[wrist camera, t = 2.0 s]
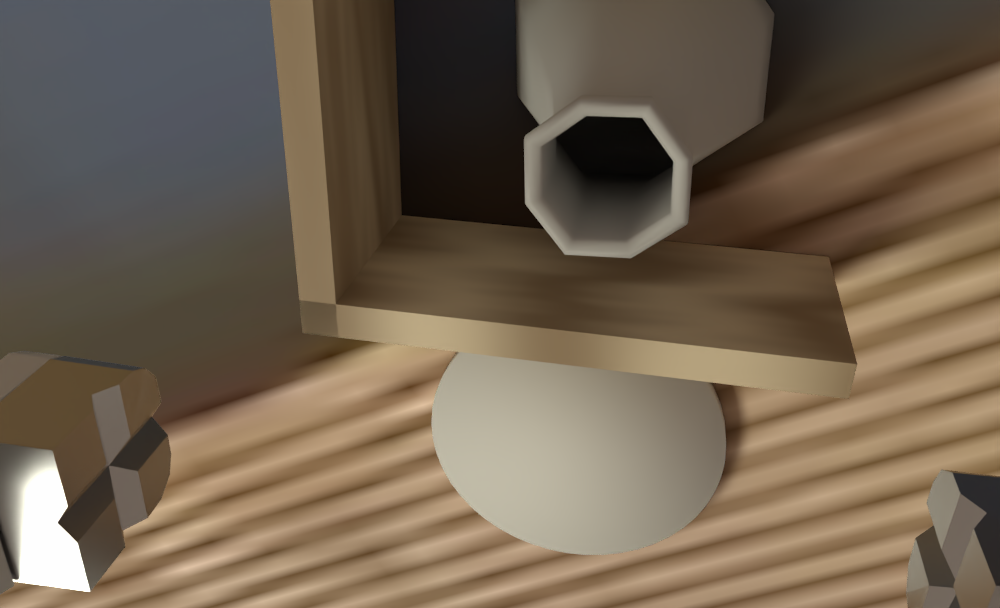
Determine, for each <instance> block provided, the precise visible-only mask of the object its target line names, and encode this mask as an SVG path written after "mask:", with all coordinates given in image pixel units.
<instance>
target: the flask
mask: <svg viewBox="0 0 1000 608" xmlns="http://www.w3.org/2000/svg"><path fill="white" fill-rule="evenodd" d="M774 15H775V14H774V13H773V11H772V10H771V8H770V7H769V5H768V3H767V2H766V0H515V20H516V66H517V95H518V97H519V98H520V100H521V101H522V102H523V104H524V105H525V106H526V108H527V109H528V110H529V112H530V113H531V114H532V116H533V117H534V118H535V120H536V121H537V122H538V124H539V126H538V127H536V128H535V129H533V130H532V131H531V132H529V133H528V134H526V135H525V138H524V171H525V204H526V206H527V207H528V208H529V210H530V211H531V212H532V213H533V215H534V216H535V217H536V219H537V220H538V221H539V222H540V224H541V225H542V226H543V227H544V229H545V230H546V231H547V233H548V234H549V235H550V236H551V238H552V239H553V240H554V242H555V243H556V244H557V245H558V247H559V248H560V249H561V250H562V252H563V253H564V254H565V255H579V256H597V257H615V258H632V257H634V256H636V255H637V254H639V253H641V252H642V251H644V250H646V249H647V248H649V247H651V246H652V245H654V244H656V243H657V242H659V241H661V240H662V239H664V238H666V237H667V236H669V235H671V234H672V233H674V232H676V231H677V230H679V229H681V228H682V227H684V226H686V225H687V224H688V220H689V206H690V192H691V178H692V166H693V165H695V164H696V163H698V162H700V161H701V160H703V159H704V158H706V157H707V156H709V155H711V154H712V153H714V152H715V151H717V150H719V149H720V148H722V147H723V146H725V145H727V144H728V143H730V142H731V141H733V140H734V139H736V138H738V137H739V136H741V135H742V134H744V133H746V132H747V131H749V130H750V129H752V128H753V127H755V126H757V125H758V124H760V123H761V122H763V118H764V108H765V99H766V90H767V80H768V71H769V62H770V52H771V43H772V34H773V24H774Z"/></svg>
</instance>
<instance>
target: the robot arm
mask: <svg viewBox="0 0 1000 608" xmlns="http://www.w3.org/2000/svg"><path fill="white" fill-rule="evenodd" d="M160 403H161V398H160V394H159V389H158V385H157V381H156V377H155V376H154V375H153V374H152V373H150V372H149V371H148V370H146V369H145V368H141V367H134V366H128V365H121V364H114V363H107V362H101V361H94V360H87V359H81V358H74V357H67V356H63V357H61V356H58V355H52V354H44V353H36V352H29V351H21V352H14V353H9V354H8V355H6V356H5V357H4V358H2V359H1V360H0V594H1V593H3V592H5V591H6V590H8V589H10V588H11V587H13V586H14V582H13V581H15V582H22V583H29V584H37V585H44V586H51V587H59V588H66V589H73V590H80V591H88V592H90V591H91V590H92V589H93V587H94V586H95V585H96V584H97V582H98V581H99V580H100V578H101V577H102V576H103V575H104V573H105V572H106V571H107V569H108V568H109V567H110V566H111V564H112V563H113V562H114V560H115V559H116V558H117V557H118V555H119V554H120V553H121V552H122V550H123V549H124V548H125V541H124V534H123V530H125V529H127V528H129V527H130V526H132V525H134V524H136V523H138V522H140V521H142V520H144V519H146V518H148V517H149V515H150V514H151V512H152V511H153V510H154V508H155V507H156V506H157V504H158V503H159V501H160V500H161V498H162V495H163V492H164V490H165V487H166V484H167V481H168V478H169V475H170V462H171V451H170V445H169V440H168V435H167V434H166V433H165V431H164V430H163V429H162V428H161V427H160V426H159V425H158V423H157V422H156V421H155V420H154V419H153V418H152V415H153V414H154V412H155V411H156V409H157V408H158V406H159V405H160ZM927 505H928V508H929V512H930V515H931V518H932V521H933V524H934V526H932V527H931V528H929V529H928V530H927V531H925V532H924V533H922V534H921V535H919V536H918V537H916V539H915V542H914V546H913V550H912V554H911V557H910V561H909V565H908V578H907V591H906V594H907V604H908V608H1000V476H993V475H984V474H975V473H967V472H958V471H950V470H941V471H940V473H939V474H938V476H937V477H936V479H935V480H934V482H933V485H932V488H931V491H930V494H929V497H928V500H927Z"/></svg>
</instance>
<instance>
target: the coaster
mask: <svg viewBox="0 0 1000 608" xmlns="http://www.w3.org/2000/svg"><path fill="white" fill-rule="evenodd" d="M432 434H433V441H434V445H435V449H436V453H437V456H438V458H439V461H440V463H441V465H442V468H443V470H444V472H445V473H446V475H447V477H448V479H449V480H450V482H451V484H452V485H453V486H454V488H455V489H456V490H457V492H458V493H459V494H460V496H461V497H462V498H463V499H464V500H465V501H466V502H467V503H468V504H469V505H470V506H471V507H472V508H473V509H474V510H475V511H476V512H478V513H479V514H480V515H481V516H482V517H483V518H485V519H486V520H487V521H489V522H490V523H492V524H493V525H495V526H496V527H498V528H499V529H501V530H503V531H505V532H507V533H508V534H510V535H512V536H514V537H516V538H518V539H521V540H523V541H526V542H528V543H530V544H533V545H536V546H540V547H543V548H546V549H550V550H555V551H560V552H564V553H572V554H582V555H606V554H617V553H623V552H628V551H633V550H637V549H640V548H644V547H647V546H650V545H653V544H655V543H657V542H659V541H662V540H664V539H666V538H668V537H670V536H671V535H673V534H675V533H676V532H678V531H679V530H681V529H683V528H684V527H685V526H686V525H687V524H689V523H690V522H691V521H692V520H693V519H695V518H696V516H697V515H698V514H699V513H700V512H701V511H702V510H703V509H704V508H705V506H706V505H707V504H708V502H709V500H710V499H711V497H712V496H713V494H714V493H715V491H716V488H717V486H718V484H719V482H720V479H721V476H722V472H723V468H724V464H725V456H726V431H725V419H724V415H723V411H722V407H721V403H720V401H719V398H718V396H717V394H716V391H715V389H714V387H713V385H712V383H711V382H703V381H695V380H687V379H679V378H670V377H662V376H654V375H645V374H637V373H629V372H621V371H612V370H604V369H596V368H588V367H579V366H571V365H563V364H555V363H546V362H538V361H530V360H521V359H513V358H505V357H497V356H488V355H480V354H472V353H464V352H457V353H456V354H455V355H454V357H453V358H452V360H451V362H450V363H449V365H448V367H447V368H446V370H445V372H444V374H443V377H442V379H441V381H440V384H439V386H438V389H437V391H436V394H435V399H434V403H433V408H432Z"/></svg>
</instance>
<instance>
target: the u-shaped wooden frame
mask: <svg viewBox="0 0 1000 608" xmlns="http://www.w3.org/2000/svg"><path fill="white" fill-rule="evenodd" d="M270 3H271V14H272V24H273V34H274V44H275V55H276V65H277V75H278V85H279V96H280V106H281V116H282V126H283V136H284V147H285V157H286V167H287V177H288V188H289V198H290V208H291V218H292V229H293V239H294V249H295V259H296V270H297V280H298V290H299V300H300V311H301V321H302V331H303V333H307V334H315V335H323V336H331V337H340V338H348V339H356V340H364V341H373V342H381V343H389V344H398V345H406V346H414V347H422V348H431V349H439V350H447V351H455V352H464V353H472V354H480V355H488V356H497V357H505V358H513V359H521V360H530V361H538V362H546V363H555V364H563V365H571V366H579V367H588V368H596V369H604V370H612V371H621V372H629V373H637V374H645V375H654V376H662V377H670V378H679V379H687V380H695V381H703V382H712V383H720V384H728V385H736V386H745V387H753V388H761V389H769V390H778V391H786V392H794V393H803V394H811V395H819V396H827V397H836V398H844V399H849V396H850V392H851V388H852V383H853V379H854V375H855V371H856V367H857V362H856V358H855V354H854V351H853V347H852V343H851V339H850V335H849V332H848V328H847V324H846V320H845V316H844V313H843V309H842V305H841V301H840V298H839V294H838V290H837V286H836V282H835V279H834V275H833V271H832V267H831V263H830V260H829V257H825V256H815V255H805V254H794V253H784V252H774V251H764V250H753V249H743V248H733V247H723V246H712V245H702V244H692V243H682V242H671V241H659V242H657V243H656V244H654V245H652V246H651V247H649V248H647V249H646V250H644V251H642V252H641V253H639V254H637V255H636V256H634V257H632V258H615V257H597V256H579V255H565V254H564V253H563V252H562V250H561V249H560V248H559V247H558V245H557V244H556V243H555V242H554V240H553V239H552V238H551V236H550V235H549V234H548V233H547V231H546V230H545V229H538V228H528V227H517V226H507V225H497V224H487V223H476V222H466V221H456V220H446V219H435V218H425V217H415V216H405V215H402V209H401V181H400V152H399V124H398V96H397V67H396V39H395V11H394V0H270Z"/></svg>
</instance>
